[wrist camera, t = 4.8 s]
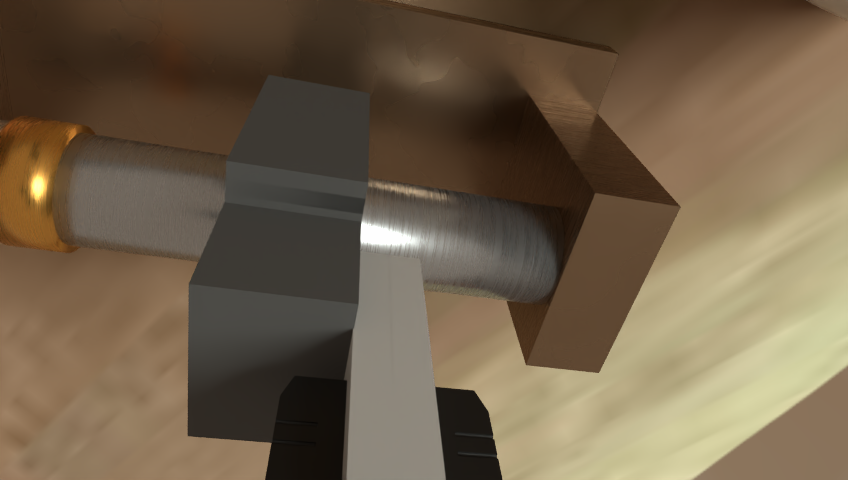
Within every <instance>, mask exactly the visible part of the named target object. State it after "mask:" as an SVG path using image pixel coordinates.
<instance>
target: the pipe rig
mask: <svg viewBox="0 0 848 480" xmlns="http://www.w3.org/2000/svg"><path fill="white" fill-rule="evenodd" d="M618 55H619V54H618V53H617V52H616V51H614V50H613V49H612V48H610V47H608V46H604V45H599V44H594V43H589V42H584V41H580V40H575V39H570V38H565V37H560V36H556V35H551V34H546V33H541V32H537V31H532V30H527V29H522V28H517V27H513V26H508V25H503V24H498V23H493V22H489V21H484V20H479V19H474V18H469V17H465V16H460V15H455V14H450V13H445V12H441V11H436V10H431V9H426V8H421V7H417V6H412V5H407V4H402V3H397V2H393V1H388V0H0V242H1V243H3V244H5V245H8V246H16V247H24V248H32V249H40V250H49V251H57V252H65V253H71V252H74V251H75V250H77V249H78V248H79V247H86V248H94V249H102V250H110V251H118V252H126V253H134V254H141V255H149V256H157V257H165V258H173V259H181V260H189V261H197V262H199V260H200V257H201V255H202V253H203V250H204V248H205V246H206V244H207V241H208V239H209V237H210V234H211V232H212V230H213V228H214V225H215V223H216V221H217V218H218V216H219V214H220V212H221V209H222V207H223V205H224V202H225V181H226V160H227V158H228V156H229V154H230V152H231V150H232V148H233V146H234V144H235V142H236V140H237V138H238V136H239V134H240V132H241V130H242V128H243V126H244V124H245V122H246V120H247V118H248V116H249V114H250V112H251V110H252V108H253V105H254V103H255V101H256V99H257V97H258V95H259V93H260V91H261V89H262V87H263V85H264V83H265V81H266V79H267V77H268V75H272V76H278V77H283V78H289V79H295V80H300V81H306V82H311V83H317V84H322V85H328V86H333V87H339V88H344V89H350V90H355V91H361V92H366V93H370V109H369V176H368V188H367V193H366V199H365V204H364V210H363V216H362V221H361V248H360V251H364V252H372V253H380V254H387V255H395V256H403V257H411V258H419V259H420V261H421V270H422V279H423V287H424V290H426V291H434V292H442V293H450V294H458V295H466V296H474V297H481V298H489V299H497V300H505V301H507V304H508V307H509V310H510V314H511V317H512V320H513V324H514V327H515V330H516V333H517V337H518V340H519V343H520V347H521V350H522V353H523V356H524V360H525V363H526V365H530V366H540V367H549V368H558V369H567V370H577V371H586V372H595V373H599V372H600V370H601V368H602V366H603V364H604V362H605V360H606V358H607V355H608V353H609V351H610V349H611V347H612V345H613V343H614V341H615V339H616V337H617V335H618V333H619V331H620V329H621V327H622V325H623V323H624V321H625V319H626V317H627V315H628V313H629V311H630V309H631V307H632V305H633V303H634V301H635V299H636V297H637V295H638V293H639V291H640V288H641V286H642V284H643V282H644V280H645V278H646V276H647V274H648V272H649V270H650V268H651V266H652V264H653V262H654V260H655V258H656V256H657V254H658V252H659V250H660V248H661V246H662V244H663V242H664V240H665V238H666V236H667V234H668V232H669V230H670V228H671V226H672V224H673V221H674V219H675V217H676V215H677V213H678V211H679V209H680V206H679V205H678V203H677V202H676V201H675V200H674V199H673V198H672V197H671V196H670V194H669V193H668V192H667V191H666V190H665V189H664V188H663V187H662V185H661V184H660V183H659V182H658V181H657V180H656V179H655V178H654V176H653V175H652V174H651V173H650V172H649V171H648V170H647V169H646V167H645V166H644V165H643V164H642V163H641V162H640V161H639V160H638V158H637V157H636V156H635V155H634V154H633V153H632V152H631V151H630V150H629V148H628V147H627V146H626V145H625V144H624V143H623V142H622V141H621V139H620V138H619V137H618V136H617V135H616V134H615V133H614V132H613V130H612V129H611V128H610V127H609V126H608V125H607V124H606V123H605V121H604V120H603V119H602V118H601V117H600V116H599V115H598V114H597V111H598V109H599V106H600V103H601V101H602V98H603V95H604V93H605V90H606V87H607V85H608V82H609V79H610V77H611V74H612V71H613V69H614V66H615V63H616V61H617V58H618Z"/></svg>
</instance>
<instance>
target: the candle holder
mask: <svg viewBox="0 0 848 480" xmlns="http://www.w3.org/2000/svg"><path fill="white" fill-rule="evenodd" d="M805 1H807V2H809V3H811V4H813V5H815V6H816V7H818V8H821V9H823V10H825V11H827V12H829V13H831V14H833V15H835V16H838V17H840V18H842V19H844V20H846V21H848V0H805Z"/></svg>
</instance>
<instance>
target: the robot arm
mask: <svg viewBox="0 0 848 480" xmlns="http://www.w3.org/2000/svg"><path fill="white" fill-rule="evenodd" d="M265 480H502V475H501V470H500V466H499V461H498V459H497V451H496V446H495V441H494V440H493V432H492V427H491V422H490V417H489V413H488V411H487V409H486V408H485V406H484V405H483V403H482V402H481V400H480V399H479V397H478V396H477V394H476V393H475V391H473V390H462V389H451V388H440V387H435V382H434V373H433V365H432V356H431V348H430V339H429V330H428V322H427V313H426V304H425V296H424V287H423V279H422V270H421V261H420V259H419V258H411V257H403V256H395V255H387V254H380V253H372V252H364V251H360V279H359V305H358V310H357V316H356V321H355V326H354V328H353V333H352V338H351V344H350V349H349V355H348V360H347V366H346V371H345V377H344V380H337V379H326V378H316V377H305V376H294V377H293V379H292V380H291V381H290V383H289V384H288V385H287V387H286V388H285V389H284V391H283V392H282V393H281V395H280V398H279V404H278V410H277V415H276V422H275V427H274V432H273V438H272V444H271V450H270V455H269V461H268V467H267V472H266V478H265Z"/></svg>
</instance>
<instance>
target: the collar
mask: <svg viewBox="0 0 848 480" xmlns="http://www.w3.org/2000/svg"><path fill="white" fill-rule="evenodd" d="M369 109H370V93H366V92H361V91H355V90H350V89H344V88H339V87H333V86H328V85H322V84H317V83H311V82H306V81H300V80H295V79H289V78H283V77H278V76H272V75H268V77H267V79H266V81H265V83H264V85H263V87H262V89H261V91H260V93H259V95H258V97H257V99H256V101H255V103H254V105H253V108H252V110H251V112H250V114H249V116H248V118H247V120H246V122H245V124H244V126H243V128H242V130H241V132H240V134H239V136H238V138H237V140H236V142H235V144H234V146H233V148H232V150H231V152H230V154H229V156H228V158H227V160H226V181H225V202H224V205H223V207H222V209H221V212H220V214H219V216H218V218H217V221H216V223H215V225H214V228H213V230H212V232H211V234H210V237H209V239H208V241H207V244H206V246H205V248H204V250H203V253H202V255H201V257H200V260H199V262H198V264H197V267H196V269H195V271H194V273H193V276H192V278H191V280H190V283H189V332H188V436H193V437H206V438H218V439H231V440H244V441H256V442H269V443H272V438H273V432H274V427H275V422H276V415H277V410H278V404H279V398H280V395H281V393H282V392H283V391H284V389H285V388H286V387H287V385H288V384H289V383H290V381H291V380H292V379H293V377H294V376H305V377H316V378H326V379H337V380H344V377H345V371H346V366H347V360H348V355H349V349H350V344H351V338H352V333H353V328H354V326H355V321H356V316H357V310H358V305H359V279H360V248H361V221H362V216H363V210H364V204H365V199H366V193H367V188H368V176H369Z"/></svg>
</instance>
